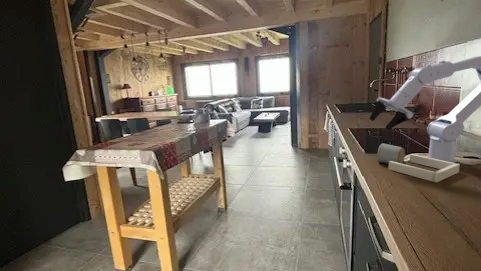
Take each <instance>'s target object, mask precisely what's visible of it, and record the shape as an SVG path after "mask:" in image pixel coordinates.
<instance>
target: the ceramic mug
mask: <svg viewBox="0 0 481 271" xmlns="http://www.w3.org/2000/svg"><path fill="white" fill-rule="evenodd" d="M405 154H406V152H405V148H403V147H401V146H397V145H392V144H387V143H381V144H380V145H379V147H378V149H377V154H376V155H377V156H376V160H377V162H378V163H383V164H387V165H389V161H393V162H397V163H401V164H404V159H405Z"/></svg>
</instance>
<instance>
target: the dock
mask: <svg viewBox="0 0 481 271" xmlns="http://www.w3.org/2000/svg"><path fill="white" fill-rule="evenodd" d="M409 163H414V164H418V165H423V166H426V167H431V168H433V169H434V168H435V169H438V170H436V171H433V170H428V169H425V168H421V167H418V166H417V167H416V166H412V165H408V164H405V163H402V164H401V163H397V162H393V161H389V164H388V166H387V168H388V169H387V170H390V171H394V172H398V173H400V174H404V175H409V176H411V177H415V178H419V179H422V180H425V181H430V182H432V183H439V182H440V181H443V180H445V179H447V178H449V177H451V176H453V175H455V174H458V173H459V172H460V163H456V162H454V163H452V162H447V161H442V160H438V159H433V158H428V156H423V155H418V154H413V153H410V155H409Z"/></svg>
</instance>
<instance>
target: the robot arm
mask: <svg viewBox="0 0 481 271" xmlns="http://www.w3.org/2000/svg"><path fill="white" fill-rule="evenodd" d="M469 69H473V70H475V71H476V74H477V76H478V78H479V81H481V55H480V56H479V55H478V56H477V55H476V56H473V57H469V58H466V59H462V60H460V61H455V62H451V61H449V60H447V61H446V60H440V61H438V63H435V64H427V65H425V67H417V68H414V69H413V70H411V71H410V72H409V74H408V79H407V80H406V81H405V82H404V83H403V84H402V85H401V86H400V87H399V89H398V90H397V91H396V92H395V93H394V94H393V96H392V97H391V98H390V99H388V98H383V97H381V96H378V98H376V101H375V102H374V107H373V110H372V113H371V115H370V116H369V120H370V121H371V122H374V120H376V119H377V117H379V115H381V113H383V112H384V111H385V110H387V108H389V109H391V110H392V111H395V113H394V116H393V117H392V119H391V120H390V121H389V122H388V123H387V125H386V126H385V127H384V128H385V129H386V130H387V131H390V130H391V129H393V128H394V127H396V126H398V125H400V124H402V123H404V122H406V121H408V119H409V120H410V119H411V118H412V117H413V116H414V115H415V114H414V113H413V112H412V111H410V110H408V109H407V108H406V106H407V105H409V103H410V102H411V101H412V100H413V99H414V98H415V96H416V95H417V94H418V93H419V92H420V91H422V89H423V87H424V86H425V84H426V85H427V84H429V85H430V84H432V82H434V81H438V80H441V79H445V78H450V77H452V76H453V75H454V74H455V73H456V72H460V71H464V70H469ZM386 107H387V108H386ZM480 107H481V82H480V83H479V84H478V85H477V86H476V87H475V88H474V89H473V90H471V92H469V93H468V94H467V95H466V96H465V97H464V99H462V100H461V101H460V102H459V103H458V104H457V105H456V106H455V107H454V108H453V109H452V110H450V111H449V113H448V114H445V115H442V116H440V117H438V118H437V119H435V120H433V121H431V122H430V123H428V125H427V127H426V132H427V134H428V135H429V138H430V139H429V147H428V148H429V149H428V156H429V158H433V159H438V160H442V161H447V162H452V163H456V162H458V161H456V160H457V159H456V153H457V143H456V140H457V139H458V138H459V137H460V135H461V132H463V130H464V129H465V126H464V123H465V121H466V120H467V119H468V118H469V117H471V115H473V113H475V112H476V111H477V110H478V109H479V108H480ZM454 158H455V160H454Z"/></svg>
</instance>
